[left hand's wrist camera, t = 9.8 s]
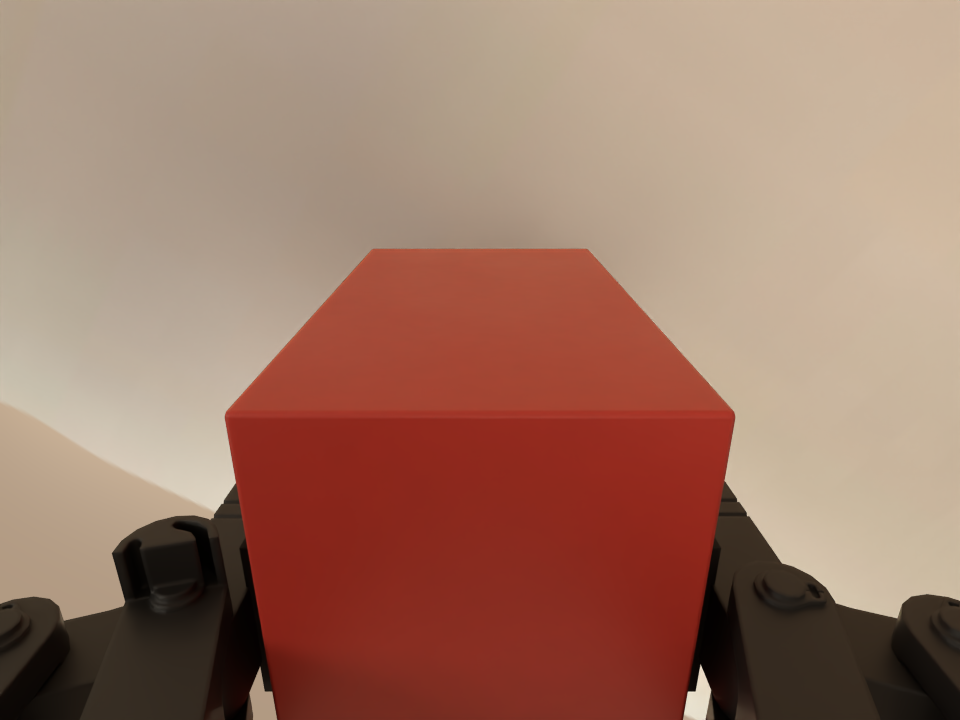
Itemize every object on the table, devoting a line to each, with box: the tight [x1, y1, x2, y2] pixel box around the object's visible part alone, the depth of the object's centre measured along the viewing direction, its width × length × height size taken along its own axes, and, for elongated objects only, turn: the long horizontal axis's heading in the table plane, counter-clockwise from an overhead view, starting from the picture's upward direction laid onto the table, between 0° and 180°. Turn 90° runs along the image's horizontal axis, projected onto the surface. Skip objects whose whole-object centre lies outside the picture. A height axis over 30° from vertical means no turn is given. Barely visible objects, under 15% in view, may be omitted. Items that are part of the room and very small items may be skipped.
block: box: [225, 249, 735, 720], centre depth 11 cm, size 5×8×9 cm, turn 0°
